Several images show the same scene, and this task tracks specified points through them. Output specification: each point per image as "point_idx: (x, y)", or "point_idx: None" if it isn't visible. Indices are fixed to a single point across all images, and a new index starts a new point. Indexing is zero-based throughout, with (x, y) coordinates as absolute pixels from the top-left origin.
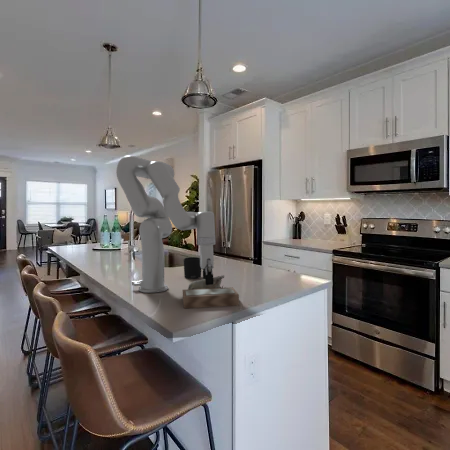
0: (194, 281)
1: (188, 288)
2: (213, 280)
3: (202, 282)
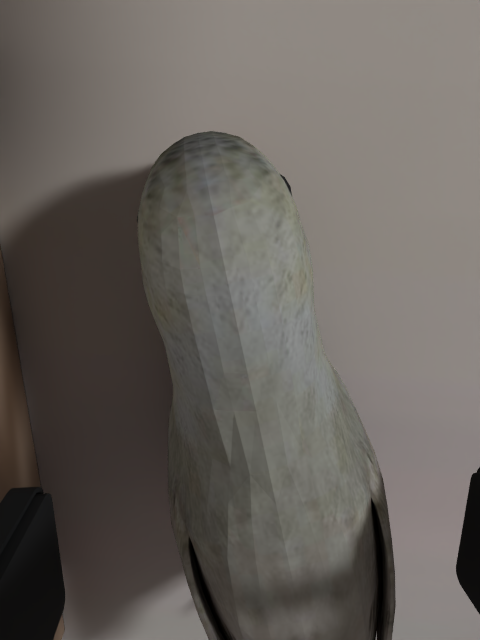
0: (212, 284)
1: (196, 134)
2: (233, 638)
3: (199, 441)
